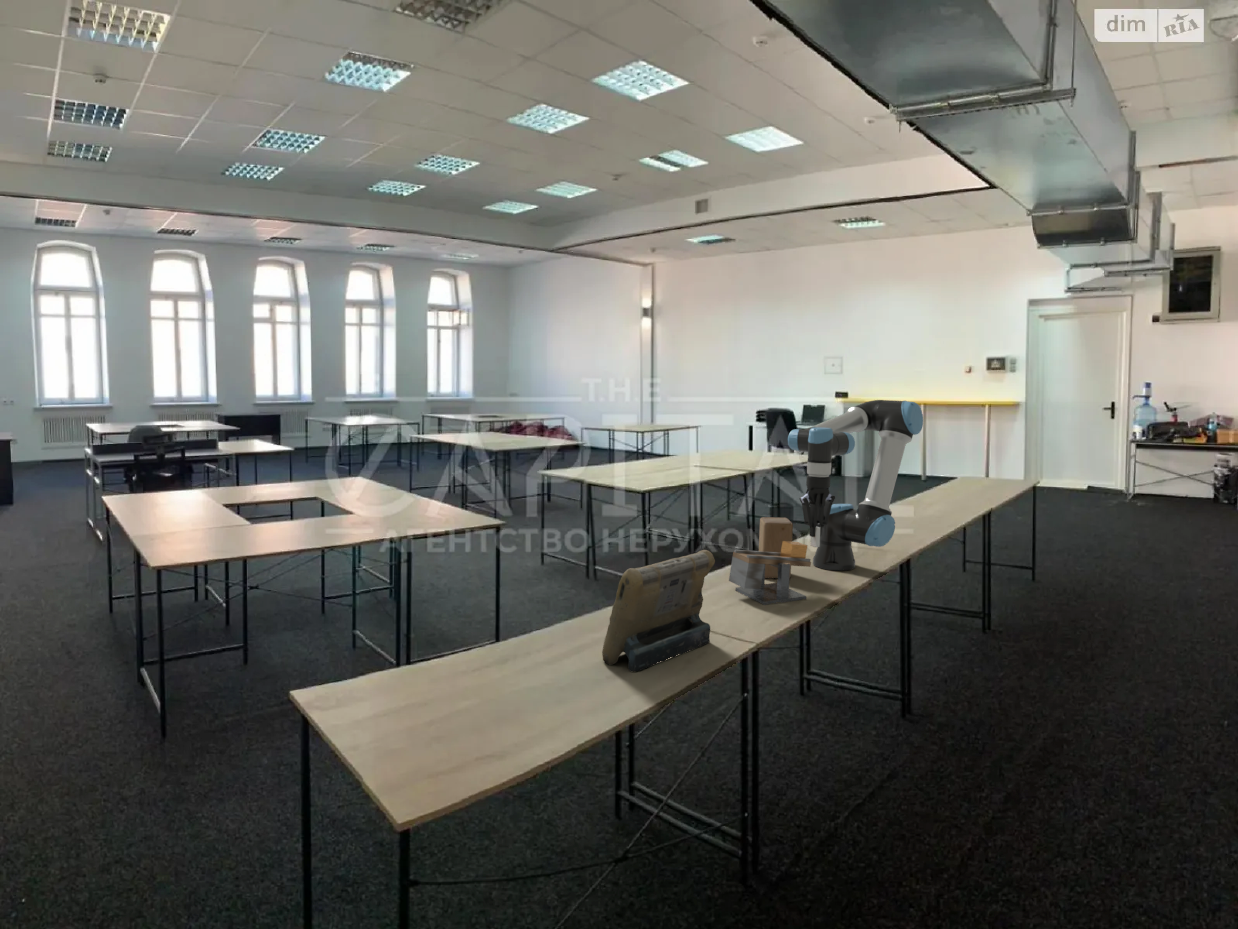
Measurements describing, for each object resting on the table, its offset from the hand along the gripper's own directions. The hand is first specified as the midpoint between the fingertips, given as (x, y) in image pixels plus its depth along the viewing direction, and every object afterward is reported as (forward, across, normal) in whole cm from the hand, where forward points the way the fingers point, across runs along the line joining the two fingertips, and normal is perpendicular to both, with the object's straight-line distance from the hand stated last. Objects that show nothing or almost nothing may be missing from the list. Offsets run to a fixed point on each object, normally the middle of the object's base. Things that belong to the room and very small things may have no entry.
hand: (814, 546), depth 249 cm
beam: (+12, +18, 0) cm, 21 cm away
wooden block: (+15, +2, -19) cm, 24 cm away
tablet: (+15, +72, +30) cm, 80 cm away
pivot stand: (+15, +17, 0) cm, 22 cm away
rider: (+3, +9, 0) cm, 9 cm away
